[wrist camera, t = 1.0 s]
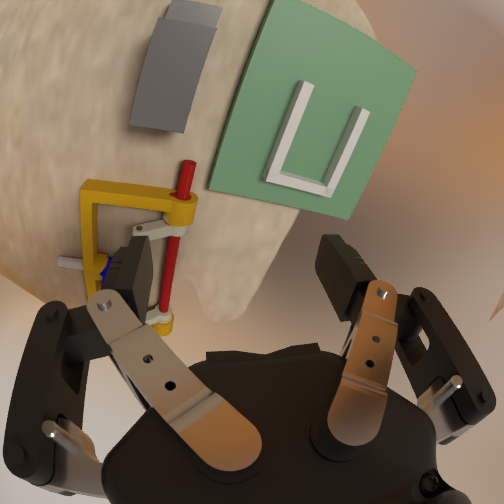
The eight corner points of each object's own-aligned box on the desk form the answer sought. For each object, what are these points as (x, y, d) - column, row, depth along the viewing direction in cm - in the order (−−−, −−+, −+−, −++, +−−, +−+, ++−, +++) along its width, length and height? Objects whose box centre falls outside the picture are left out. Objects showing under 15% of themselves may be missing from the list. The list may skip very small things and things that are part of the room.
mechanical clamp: (209, 181, 26) (172, 353, 43) (205, 159, 31) (171, 323, 48) (34, 161, 20) (66, 341, 37) (58, 142, 25) (73, 312, 41)
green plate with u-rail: (207, 184, 32) (209, 195, 30) (274, -6, 19) (283, -11, 17) (343, 214, 40) (352, 225, 37) (409, 69, 26) (424, 72, 24)
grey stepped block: (184, 120, 27) (183, 133, 23) (139, 113, 25) (129, 125, 21) (220, 11, 20) (228, -1, 15) (173, 2, 18) (170, -12, 14)
